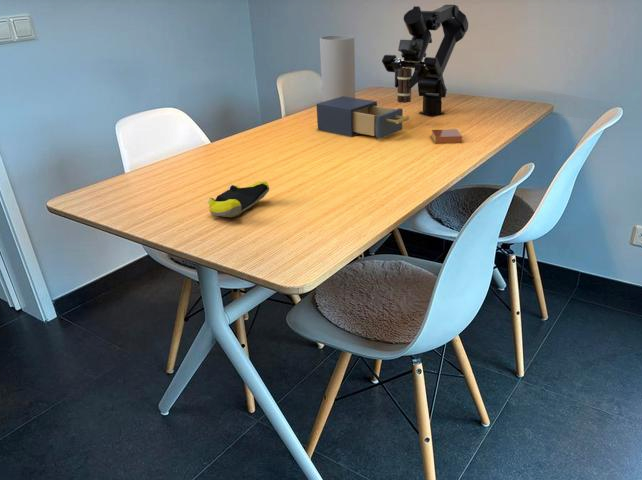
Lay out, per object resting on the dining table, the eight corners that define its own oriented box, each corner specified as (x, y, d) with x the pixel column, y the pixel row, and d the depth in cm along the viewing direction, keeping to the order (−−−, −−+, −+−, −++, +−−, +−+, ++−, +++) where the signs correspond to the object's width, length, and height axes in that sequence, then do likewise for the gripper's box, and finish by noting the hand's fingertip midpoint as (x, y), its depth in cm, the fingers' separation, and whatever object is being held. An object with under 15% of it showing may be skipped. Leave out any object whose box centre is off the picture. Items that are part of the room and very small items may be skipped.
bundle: (395, 100, 181) (396, 68, 177) (410, 99, 182) (410, 67, 177) (397, 103, 177) (398, 70, 172) (412, 102, 178) (413, 69, 173)
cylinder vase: (362, 107, 213) (361, 36, 200) (339, 113, 205) (337, 40, 193) (338, 102, 220) (336, 34, 208) (316, 108, 212) (312, 38, 200)
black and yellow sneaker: (274, 202, 131) (239, 196, 135) (272, 180, 128) (236, 175, 132) (237, 227, 119) (200, 220, 123) (234, 203, 116) (196, 196, 120)
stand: (431, 136, 176) (431, 129, 175) (456, 135, 176) (457, 129, 175) (435, 143, 169) (435, 136, 168) (461, 142, 169) (462, 136, 168)
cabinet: (376, 127, 186) (377, 101, 182) (351, 136, 177) (350, 109, 173) (343, 121, 195) (343, 96, 190) (317, 129, 186) (316, 103, 181)
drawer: (414, 132, 177) (415, 110, 174) (391, 141, 169) (392, 119, 165) (369, 123, 187) (369, 103, 184) (345, 132, 179) (345, 110, 176)
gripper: (384, 27, 176) (367, 69, 174) (439, 29, 168) (422, 74, 165) (395, 50, 186) (379, 90, 183) (447, 53, 177) (431, 95, 175)
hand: (402, 87), depth 176 cm, fingers closed on bundle, 4 cm apart
